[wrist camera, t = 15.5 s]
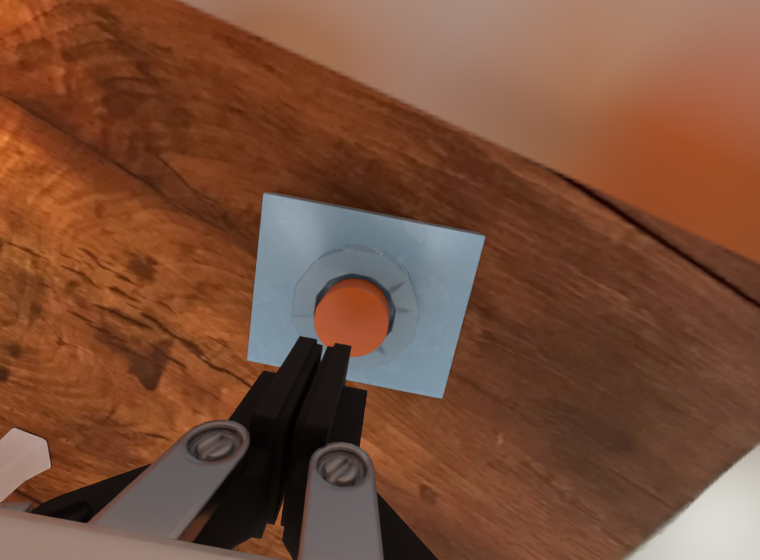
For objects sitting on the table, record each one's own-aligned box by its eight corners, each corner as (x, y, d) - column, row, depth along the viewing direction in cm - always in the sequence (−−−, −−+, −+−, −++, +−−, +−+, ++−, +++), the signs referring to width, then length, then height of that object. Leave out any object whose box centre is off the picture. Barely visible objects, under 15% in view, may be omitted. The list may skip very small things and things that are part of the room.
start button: (326, 271, 18) (319, 280, 17) (395, 285, 18) (395, 295, 17) (316, 335, 19) (309, 349, 17) (382, 348, 19) (380, 364, 17)
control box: (273, 192, 20) (248, 193, 17) (479, 232, 20) (494, 241, 17) (257, 348, 23) (232, 376, 20) (439, 384, 23) (446, 418, 20)
